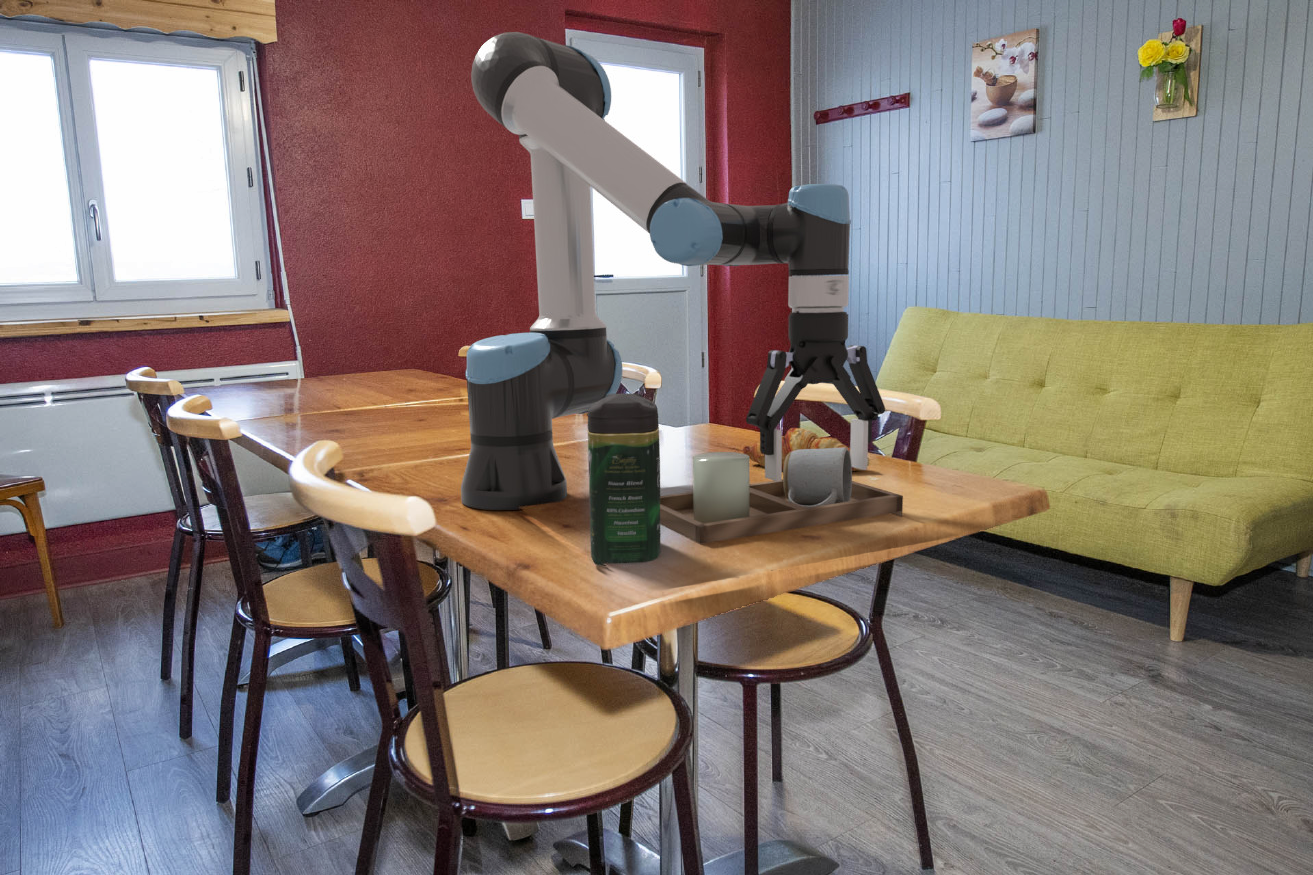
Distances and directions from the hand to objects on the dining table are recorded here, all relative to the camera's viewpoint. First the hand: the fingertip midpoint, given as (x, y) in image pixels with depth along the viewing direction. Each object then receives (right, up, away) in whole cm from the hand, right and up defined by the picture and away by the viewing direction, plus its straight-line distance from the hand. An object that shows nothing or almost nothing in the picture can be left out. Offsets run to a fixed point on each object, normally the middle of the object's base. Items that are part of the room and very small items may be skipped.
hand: (816, 473), depth 122 cm
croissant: (+3, -1, +30) cm, 30 cm away
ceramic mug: (0, -5, 0) cm, 5 cm away
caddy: (-6, -6, -2) cm, 9 cm away
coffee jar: (-24, -9, -17) cm, 31 cm away
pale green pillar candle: (-13, -6, -6) cm, 15 cm away
